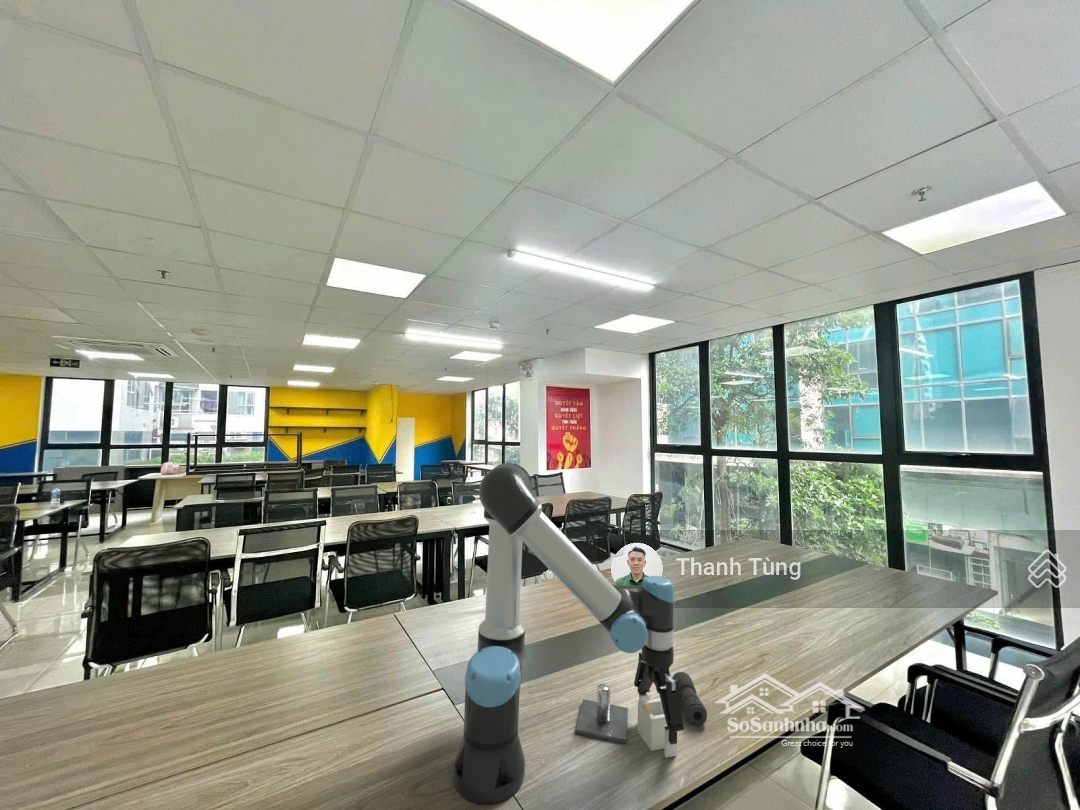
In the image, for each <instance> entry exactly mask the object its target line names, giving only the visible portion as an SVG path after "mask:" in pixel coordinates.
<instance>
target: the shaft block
mask: <svg viewBox="0 0 1080 810" xmlns="http://www.w3.org/2000/svg"><path fill="white" fill-rule="evenodd" d="M596 691H597V692H596V694H597V695H596V701H594V700H588V699H583V698H582V702H581V707H580V710H579V711H580V712H579V715H578V719H577V724H576V728H575V734H576V735H582V736H584V735H585V737H591V738H594V739H599V740H603V741H604V740H605V741H608V742H609V741H610V742H614V743H619V744H624V745H627V737H628V736H627V735H628V717H629V715H628V714H629V707H625V706H620V705H615V704H610V703H611V687H610V685H608V684H606V683H599V684H597V689H596Z"/></svg>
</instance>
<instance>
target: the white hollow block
mask: <svg viewBox="0 0 1080 810" xmlns="http://www.w3.org/2000/svg"><path fill="white" fill-rule="evenodd" d="M665 725H667V724H666V720H665V715H664V711H663V707H662V703H661V699H660V697H659V698H653V699H650V700H646V701H640V702H639V701H637V728H636V729H637V733H638V734H639V736H640V737H641V739H642V740H643V742H645V744H646V745H647V747H648V748H649V750H650V751H653V752H654V751H658V750H663V749H664V727H665Z"/></svg>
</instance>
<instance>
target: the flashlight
mask: <svg viewBox="0 0 1080 810" xmlns="http://www.w3.org/2000/svg"><path fill="white" fill-rule="evenodd" d="M671 678H672V679H673V680H675V679H676V680H677V681H678V693H679V700H680V701H682V706H683V707H684V712H685V716H686V719H687V720H688V721H689V722H690V723H691V724H693V725H695V726H701V725H704V724H705V723H706V721H707V719H708V718H707V717H708V712H707V709H706V707H705V705H704V703H703V702H702V701H701V700H700V698H699V697H698V695H697V690H696V688H695V685H694V682H693V680H692V678H691V676H690V674H688V672H686V671H684V670H678V671H676V672H675V673H674V674H673V675H672V677H671Z"/></svg>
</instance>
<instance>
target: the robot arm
mask: <svg viewBox="0 0 1080 810" xmlns="http://www.w3.org/2000/svg"><path fill="white" fill-rule="evenodd" d="M530 475H531V474H529V472H528V471H527V470H526V469H525V468H524V467H523V466H521V465H519V464H516V463H512V462H506V463H505V462H504V463H500V464H497V466H495V467H494V468H492V469H490V470H489V471H488V472H487V473H486V474H485V475H484V476H483V477H482V479H481V482H480V483H479V487H478V488H479V491H478V494H479V495H478V496H479V499H480V503H481V504H482V507H483V519H485V520H486V522H488V524H489V526H488V527H489V528H488V529H489V530H488V547H487V548H488V551H487V569H486V574H487V575H486V590H485V591H486V593H485V594H486V595H485V612H484V614H485V615H484V620H482V621H481V623H480V624H479V625H478V633H477V635H478V636H477V652H475V653H474V654H473V655H471V657H470V659H469V661H468V663H467V666H466V671H465V676H464V683H465V684H464V687H465V690H464V691H465V692H464V695H465V696H464V714H463V715H464V717H463V736H462V739H461V741H460V744H459V747H458V750H457V752H456V756H455V759H454V764H453V775H452V776H453V777H452V778H453V784H454V787H455V789H456V791H457V792H458V793H459V794H460V795H461V796H462V797H463V798H464V799H466V800H468V801H470V802H472V803H476V804H481V805H490V804H496V803H500V802H503V801H505V800H507V799H509V798H511V797H512V796H514V794H516V793H517V792H518V791H519V789H520V788H521V787H522V784H523V782H524V779H525V774H526V769H525V768H526V760H525V759H526V758H525V755H524V752H523V748H522V744H521V740H520V736H519V713H520V712H519V711H520V694H521V693H520V692H521V685H522V676H523V670H524V669H523V668H524V664H525V663H524V662H525V658H526V651H527V649H526V647H527V646H526V642H525V640H526V637H525V636H526V627H525V624H524V623H523V621H521V620H520V614H521V613H520V611H521V592H522V591H521V590H522V589H521V587H522V583H521V582H522V564H523V562H522V560H523V543H524V545H525V546H526V547H527V548H528V549H529V550H530V551H531V552H532V553H533V554H534V555H535V556H536V557H537V558H538V560H540V561H541V563H542V564H544V565H545V566H546V567H547V568H548V570H549V571H550V572H552V573H553V575H554V576H555V577H556V579H558V581H560V582H561V584H563V585H564V586H565V588H566V589H567V590H568V591H569V592H570V593H571V594H572V595H573V596H574V597H575V598H576V599H577V600H578V601H579V602H580V603H581V604H582V605H583V606H584V608H586V609H587V611H588V612H589V613H590V614H591V615H592V616H593V617H594V618H595V619H596V620H597V621H598V623H600V624H601V626H602V627H603V628H604V629H605V630H606V631H607V632H608V633H609V634H610V635H609V636H610V638H611V640H612V642H613V643H614V645H615V647H616V648H617V649H618V650H620V651H621V652H622V653H627V654H633V653H637V652H638V662H637V667H636V672H635V675H634V677H635V678H634V681H633V685H634V687H635V688H637V693H638V698H639V699H638V702H640V701H646V700H651V695H650V693H651V687H652V686H653V684H654V686H655V690H656V692H657V693H658V694H659V698H660V699H661V703H662V707H663V711H664V715H665V720H666V724H667V725H665V727H664V748H663V749H664V750H663V755H664V758H666V759H667V758H671V757H675V756H677V744H678V732H680V731H681V732H682V731H684V730H685V725H684V720H683V719H684V718H683V713H682V707H681V699H680V698H679V693H678V681H677V680H676V679H675V680H673V679H672V677H671V674H670V673H671V672H670V667H671V666H672V665H673V664H674V650H675V649H674V631H675V630H674V622H675V621H674V615H675V608H674V607H675V602H676V601H675V594H674V593H675V592H674V585H673V582H672V581H671V580H669V579H668V578H666V577H664V576H660V575H650V576H645V577H643V579H642V582H641V585H623V584H612V583H611V582H610V581H609V579H607V578H606V577H605V576H604V574H602V572H601V571H599V569H597V567H596V566H595V565H594V564H593V562H591V561H590V560H589V559H588V558H587V557H586V556H585V555H584V554H583V553H582V552H581V551H580V550H579V549H578V548H577V547H576V545H575V544H574V543H572V541H570V539H569V538H568V537H567V536H566V535H565V534H564V533H563V532H562V531H561V530H560V529H559V528H558V527H557V526H556V525H555V523H554V522H552V521H551V519H550V518H549V517H547V515H546V514H545V513H544V512H543V509H542V504H541V502H540V501H539V500H538V499H537V498H536V496H534V494H533V492H532V490H533V482H532V477H531V476H530ZM640 650H641V652H639V651H640ZM664 687H665V688H664Z"/></svg>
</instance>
